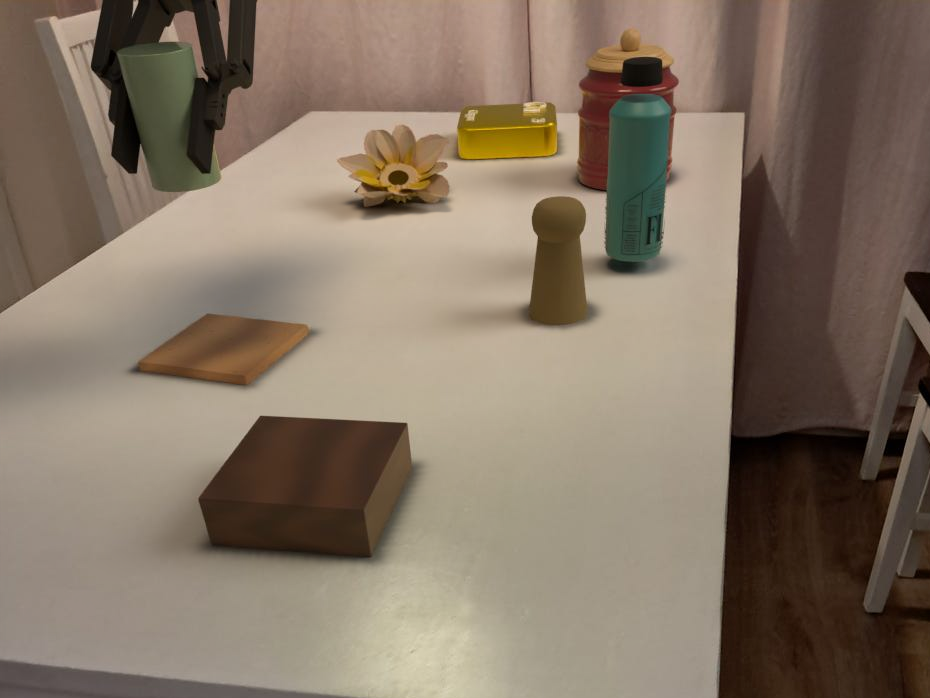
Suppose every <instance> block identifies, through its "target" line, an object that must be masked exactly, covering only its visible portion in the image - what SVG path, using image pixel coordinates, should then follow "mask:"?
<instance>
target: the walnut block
mask: <svg viewBox="0 0 930 698" xmlns="http://www.w3.org/2000/svg"><path fill="white" fill-rule="evenodd" d="M412 470H413V460H412V452H411V442H410V433H409V425H408V422H400V421H399V422H396V421H379V420H378V421H377V420H359V419H358V420H357V419H339V418H338V419H337V418H317V417H295V416H278V415H277V416H276V415H259V416H258V417H257V419H256V420H255V422H254V423H253V424H252V426H251V427H250V428H249V430H248V431H247V432H246V434H245V435H244V436H243V438H242V439H241V440H240V442H239V443H238V444H237V446H236V447H235V448H234V450H233V451H232V452H231V454H230V455H229V456H228V458H227V459H226V461H224V463H223V464H222V466H221V467H220V468H219V470H218V471H217V472H216V474H215V475H214V476H213V478H212V479H211V481H210V482H209V483H208V485H206V487H205V489H204V490H203V491H202V493H200V495H199V497H198V498H197V500H198V504H199V507H200V510H201V511H200V512H201V514H202V517H203V521H204V524H205V527H206V531H207V534H208V538H209V541H210V544H211V546H222V547H233V548H246V549H261V550H275V551H289V552H299V553H311V554H312V553H314V554H326V555H329V554H330V555H339V556H340V555H341V556H350V557H351V556H352V557H366V558H371V557H372V556H373V554H374V552H375V550H376V547H377V545H378V544H379V541H380V539H381V537H382V535H383V533H384V531H385V528H386V526H387V524H388V522H389V519H390V517H391V515H392V513H393V512H394V511H393V510H394V508H395V507H396V504H397V502H398V500H399V498H400V496H401V494H402V491H403V489H404V487H405V485H406V483H407V480H408V478H409V476H410V474H411V472H412Z"/></svg>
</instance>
